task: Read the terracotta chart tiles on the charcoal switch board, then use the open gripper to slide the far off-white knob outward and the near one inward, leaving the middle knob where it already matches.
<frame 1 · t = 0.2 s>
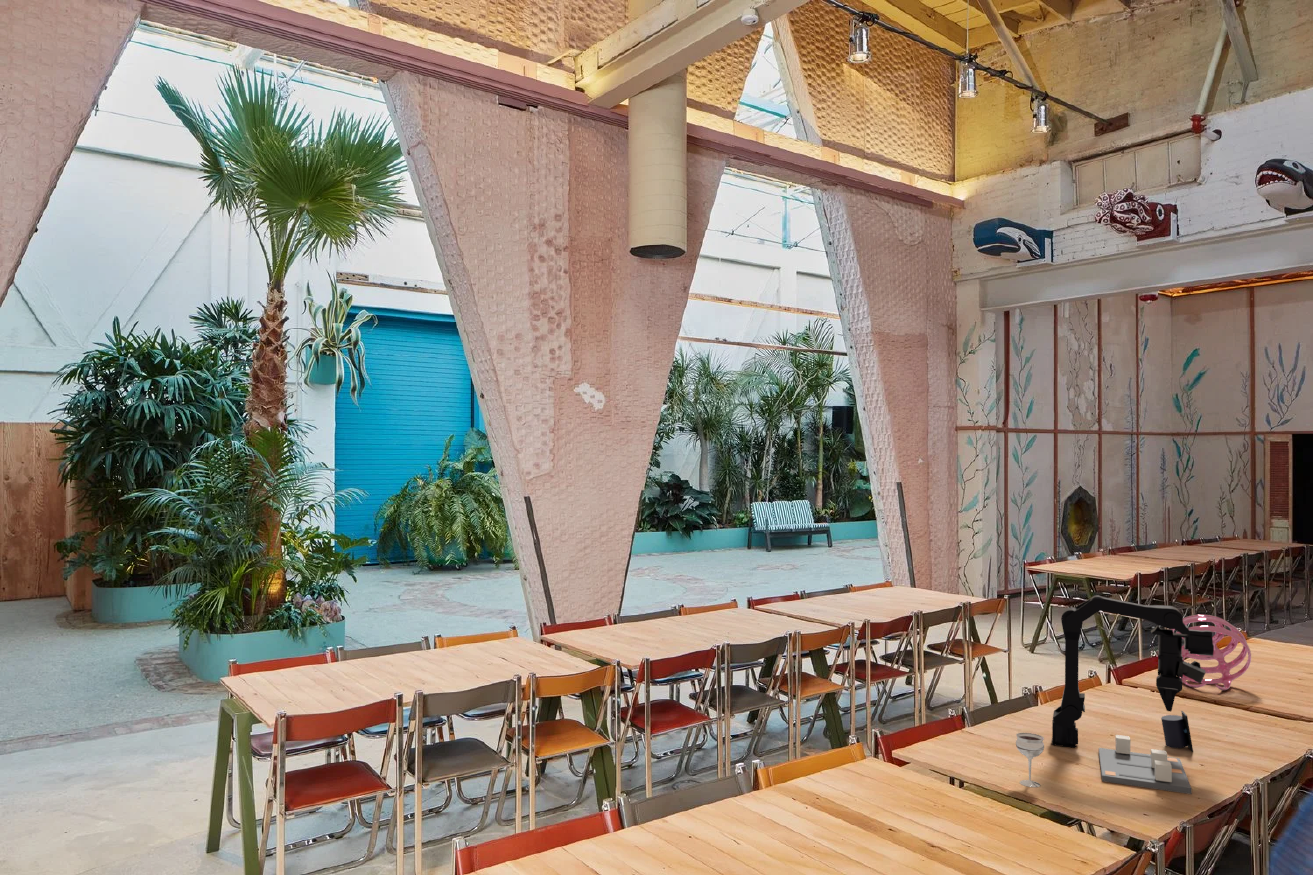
hand: (1169, 707, 249), 14 cm above the table, tool pointing down, fingers open, 9 cm apart
switch near: (1162, 770, 227), point 4 cm above the table, slide at 4.0 cm
spiral basket: (1206, 686, 332), on the table
switch mid: (1159, 759, 236), point 4 cm above the table, slide at 4.0 cm
speaker: (1176, 747, 259), on the table
switch far: (1122, 744, 248), point 4 cm above the table, slide at -4.0 cm
wineglass: (1029, 784, 228), on the table
switch board: (1142, 772, 237), on the table
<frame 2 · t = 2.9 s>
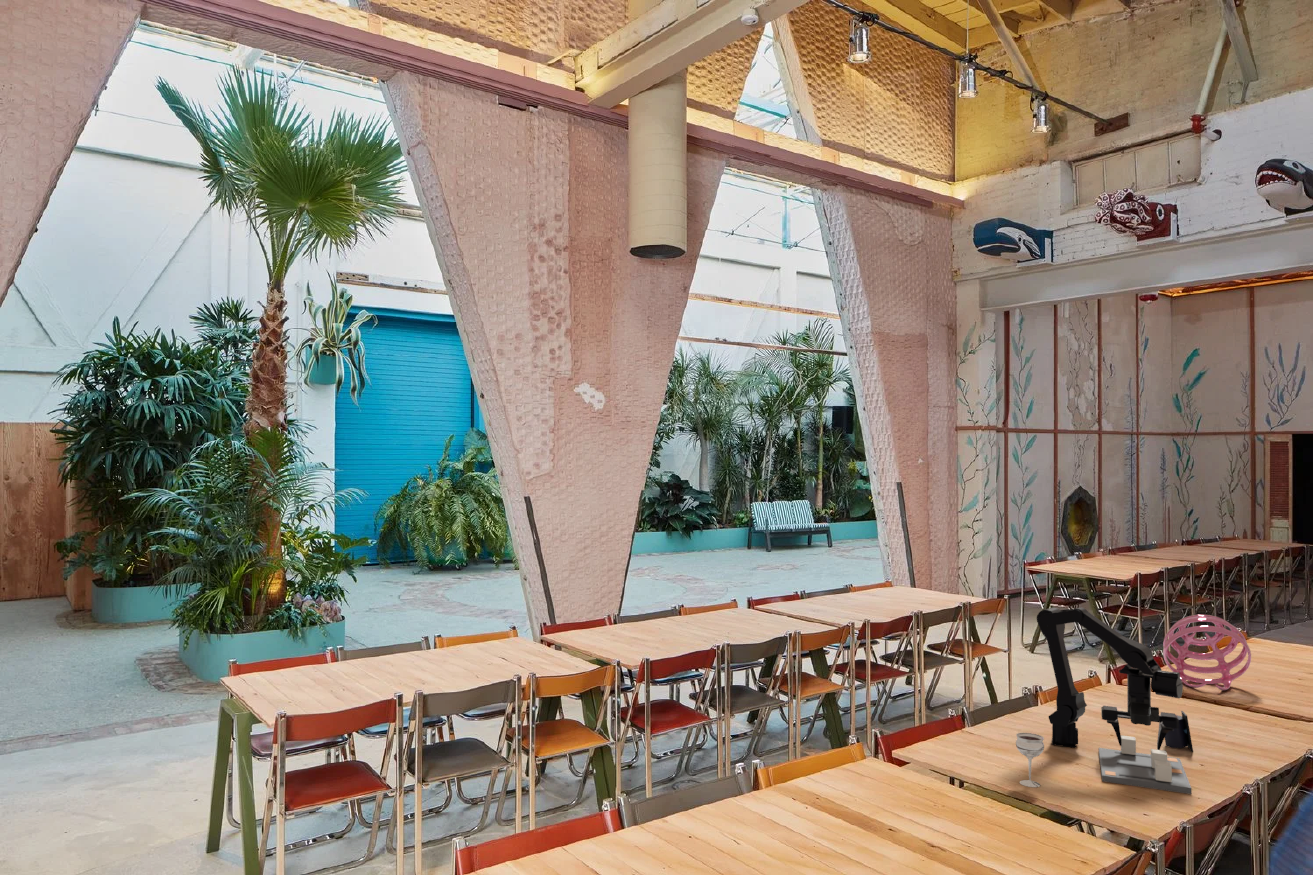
hand: (1139, 747, 246), 4 cm above the table, tool pointing down, fingers open, 9 cm apart
switch far: (1128, 744, 248), point 4 cm above the table, slide at -2.7 cm, touching gripper
everything else where it was.
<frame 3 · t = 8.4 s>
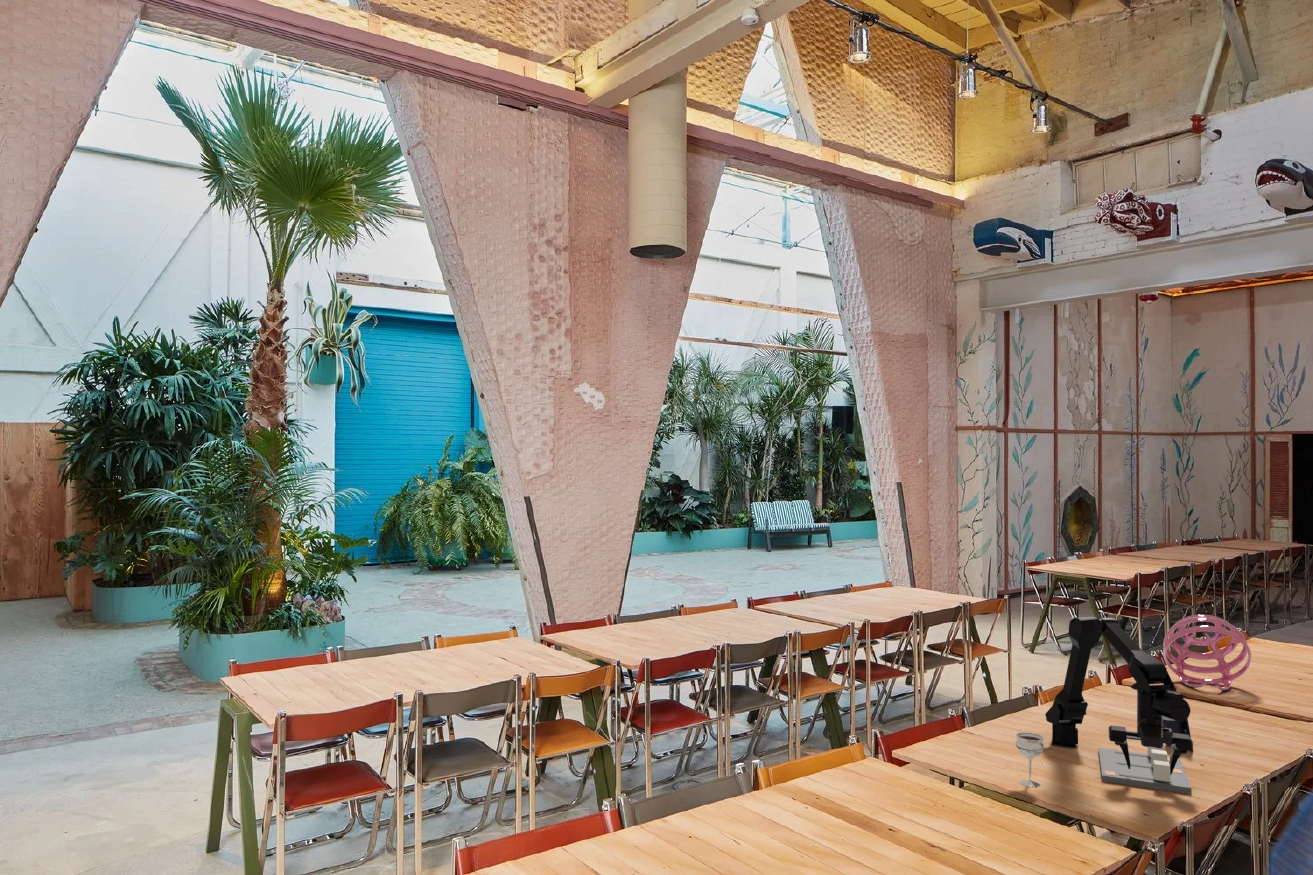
hand: (1149, 771, 228), 3 cm above the table, tool pointing down, fingers open, 9 cm apart
switch near: (1161, 770, 227), point 4 cm above the table, slide at 3.7 cm, touching gripper
switch far: (1155, 748, 245), point 4 cm above the table, slide at 4.0 cm
everything else where it was.
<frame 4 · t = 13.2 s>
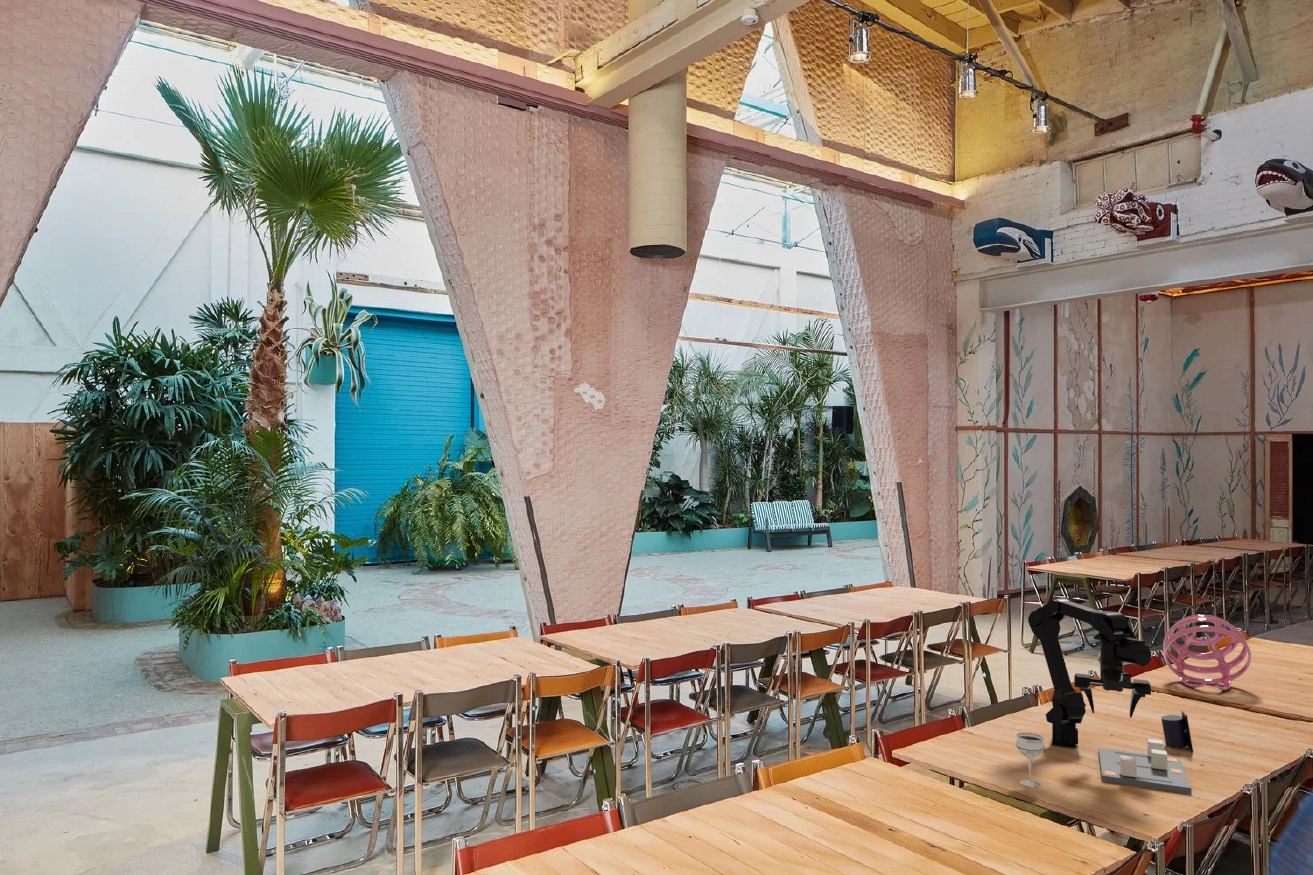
hand: (1111, 715, 245), 13 cm above the table, tool pointing down, fingers open, 9 cm apart
switch near: (1128, 766, 230), point 4 cm above the table, slide at -3.8 cm
everything else where it was.
at the end: switch far slide at 4.0 cm; switch mid slide at 4.0 cm; switch near slide at -3.8 cm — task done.
